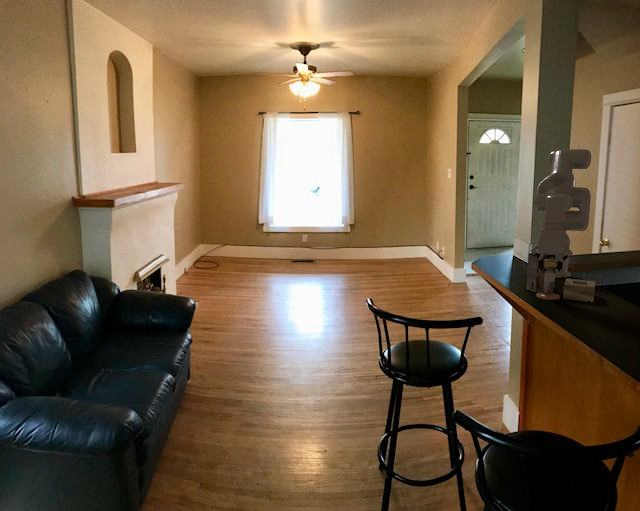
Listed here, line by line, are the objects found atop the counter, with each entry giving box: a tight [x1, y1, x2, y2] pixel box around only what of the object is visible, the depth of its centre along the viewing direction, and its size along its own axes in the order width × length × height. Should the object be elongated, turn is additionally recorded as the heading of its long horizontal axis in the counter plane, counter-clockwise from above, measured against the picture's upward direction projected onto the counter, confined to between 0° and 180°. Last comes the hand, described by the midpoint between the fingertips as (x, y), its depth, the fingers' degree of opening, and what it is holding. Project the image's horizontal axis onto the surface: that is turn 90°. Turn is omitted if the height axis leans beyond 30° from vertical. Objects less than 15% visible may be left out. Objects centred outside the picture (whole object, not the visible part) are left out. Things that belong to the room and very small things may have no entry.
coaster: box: [535, 291, 561, 301], centre depth 210 cm, size 9×9×1 cm
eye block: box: [562, 278, 596, 303], centre depth 209 cm, size 11×11×6 cm
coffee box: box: [526, 252, 555, 293], centre depth 220 cm, size 9×6×16 cm
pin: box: [543, 259, 559, 293], centre depth 208 cm, size 6×6×13 cm
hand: (550, 269), depth 208 cm, fingers closed on pin, 6 cm apart
